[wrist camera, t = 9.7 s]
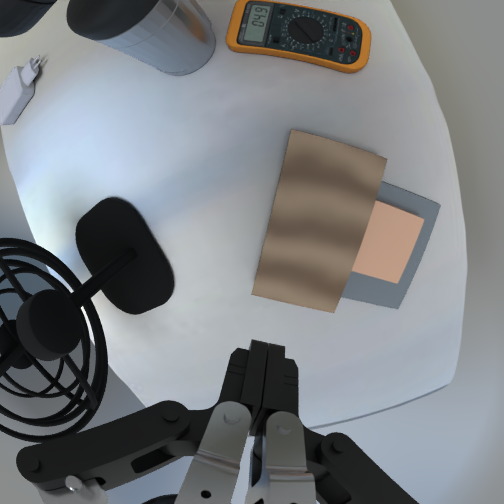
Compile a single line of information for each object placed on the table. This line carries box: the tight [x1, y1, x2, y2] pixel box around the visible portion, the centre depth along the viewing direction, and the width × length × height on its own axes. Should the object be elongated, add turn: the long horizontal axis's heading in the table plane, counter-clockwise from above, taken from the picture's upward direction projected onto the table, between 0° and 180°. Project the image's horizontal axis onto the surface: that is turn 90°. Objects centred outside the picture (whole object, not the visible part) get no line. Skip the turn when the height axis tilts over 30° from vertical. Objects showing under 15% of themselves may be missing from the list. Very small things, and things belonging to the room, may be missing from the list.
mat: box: [341, 182, 441, 309], centre depth 36 cm, size 18×12×1 cm, turn 168°
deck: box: [251, 129, 387, 313], centre depth 35 cm, size 22×12×4 cm, turn 168°
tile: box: [351, 199, 424, 284], centre depth 34 cm, size 10×8×2 cm
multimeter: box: [226, 0, 371, 73], centre depth 26 cm, size 9×18×3 cm, turn 80°
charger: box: [0, 55, 41, 125], centre depth 29 cm, size 5×9×15 cm
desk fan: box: [0, 198, 174, 443], centre depth 26 cm, size 27×18×35 cm, turn 28°
